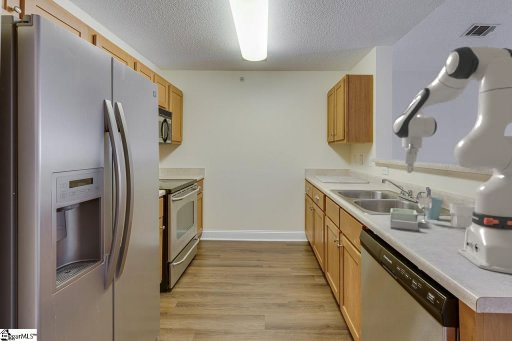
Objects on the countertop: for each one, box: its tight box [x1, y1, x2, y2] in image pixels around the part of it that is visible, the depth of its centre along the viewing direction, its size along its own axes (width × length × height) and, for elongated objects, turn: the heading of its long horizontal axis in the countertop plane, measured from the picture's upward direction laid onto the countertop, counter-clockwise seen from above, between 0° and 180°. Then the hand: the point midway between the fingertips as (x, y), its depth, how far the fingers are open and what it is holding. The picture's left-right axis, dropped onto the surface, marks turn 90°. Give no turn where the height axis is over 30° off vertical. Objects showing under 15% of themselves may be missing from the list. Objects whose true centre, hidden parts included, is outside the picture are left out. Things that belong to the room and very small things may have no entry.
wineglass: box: [417, 196, 432, 224], centre depth 146 cm, size 6×6×12 cm
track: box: [389, 216, 420, 232], centre depth 141 cm, size 23×11×4 cm, turn 157°
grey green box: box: [390, 207, 419, 222], centre depth 145 cm, size 12×11×5 cm
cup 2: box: [449, 202, 475, 229], centre depth 139 cm, size 10×10×10 cm
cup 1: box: [425, 196, 443, 221], centre depth 155 cm, size 8×8×10 cm
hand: (410, 172), depth 151 cm, fingers open, 8 cm apart
